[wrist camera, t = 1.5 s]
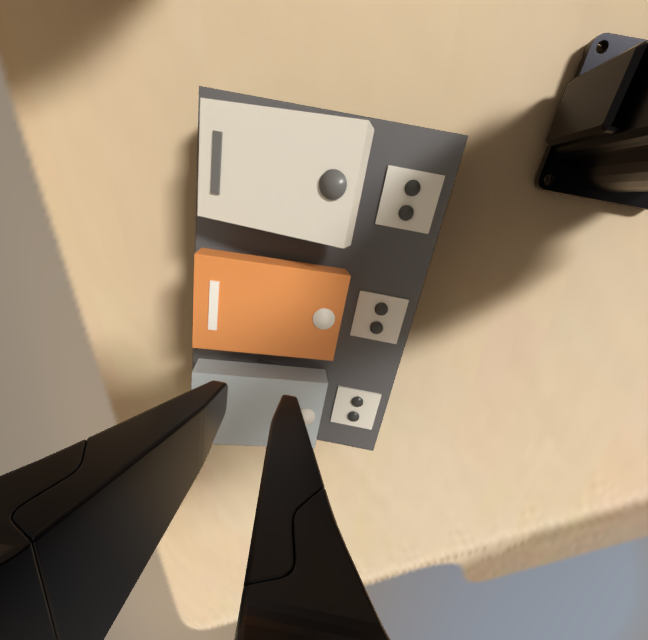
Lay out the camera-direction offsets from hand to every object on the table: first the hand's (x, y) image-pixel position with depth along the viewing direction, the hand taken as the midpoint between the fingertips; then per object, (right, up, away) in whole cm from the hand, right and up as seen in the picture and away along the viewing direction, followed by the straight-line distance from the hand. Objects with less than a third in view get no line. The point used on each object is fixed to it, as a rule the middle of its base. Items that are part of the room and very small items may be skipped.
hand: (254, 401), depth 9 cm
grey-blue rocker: (-2, -2, +10) cm, 10 cm away
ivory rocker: (0, +9, +5) cm, 10 cm away
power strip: (+1, +4, +11) cm, 12 cm away
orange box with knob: (-1, +3, +8) cm, 8 cm away
